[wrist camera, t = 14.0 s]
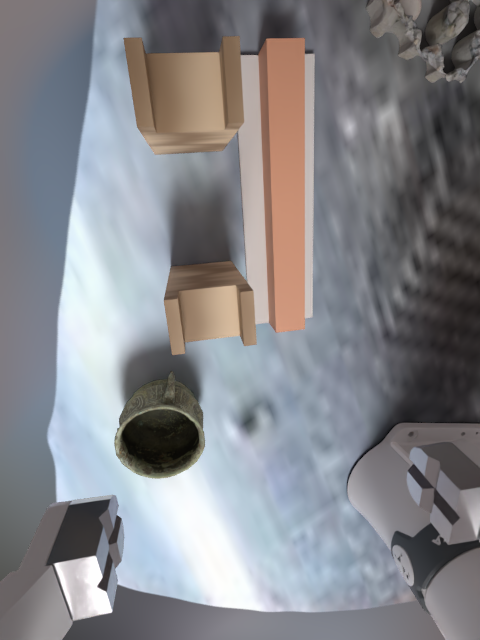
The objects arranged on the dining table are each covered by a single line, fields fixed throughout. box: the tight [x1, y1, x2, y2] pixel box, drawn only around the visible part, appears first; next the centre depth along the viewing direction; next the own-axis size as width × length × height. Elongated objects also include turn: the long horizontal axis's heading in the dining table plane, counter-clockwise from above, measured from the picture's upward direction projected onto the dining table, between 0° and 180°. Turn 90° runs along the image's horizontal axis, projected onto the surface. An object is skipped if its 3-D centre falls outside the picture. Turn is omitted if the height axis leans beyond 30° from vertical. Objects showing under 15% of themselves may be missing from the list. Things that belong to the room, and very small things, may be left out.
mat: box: [238, 54, 315, 324], centre depth 32 cm, size 7×24×1 cm, turn 4°
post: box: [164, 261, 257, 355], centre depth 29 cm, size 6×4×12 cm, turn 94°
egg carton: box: [366, 0, 480, 83], centre depth 28 cm, size 11×8×4 cm
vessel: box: [115, 371, 205, 478], centre depth 35 cm, size 12×9×6 cm
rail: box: [258, 38, 305, 333], centre depth 31 cm, size 3×24×3 cm, turn 4°
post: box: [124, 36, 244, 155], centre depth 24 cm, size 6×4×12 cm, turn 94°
